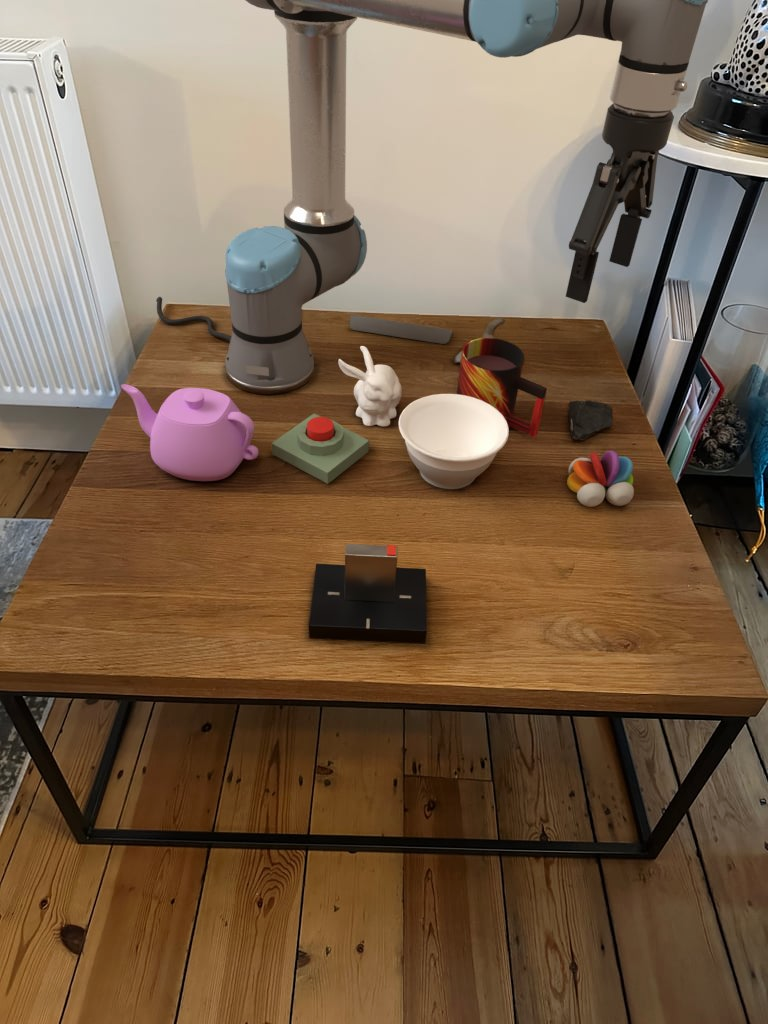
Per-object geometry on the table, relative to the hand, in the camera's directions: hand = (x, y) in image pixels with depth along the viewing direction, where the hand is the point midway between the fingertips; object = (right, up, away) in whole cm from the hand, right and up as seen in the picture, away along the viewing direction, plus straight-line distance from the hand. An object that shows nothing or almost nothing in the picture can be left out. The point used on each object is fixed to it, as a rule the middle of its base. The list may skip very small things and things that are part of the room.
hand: (598, 280), depth 102 cm
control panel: (-31, -43, -7) cm, 53 cm away
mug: (-10, -16, +24) cm, 30 cm away
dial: (-31, -41, -9) cm, 52 cm away
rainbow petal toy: (+3, -28, +11) cm, 31 cm away
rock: (+5, -17, +23) cm, 29 cm away
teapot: (-57, -23, +13) cm, 63 cm away
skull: (-10, -4, +36) cm, 38 cm away
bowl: (-19, -25, +14) cm, 34 cm away
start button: (-38, -19, +13) cm, 45 cm away
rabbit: (-30, -15, +23) cm, 41 cm away
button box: (-38, -22, +15) cm, 47 cm away
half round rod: (-26, +3, +43) cm, 50 cm away
